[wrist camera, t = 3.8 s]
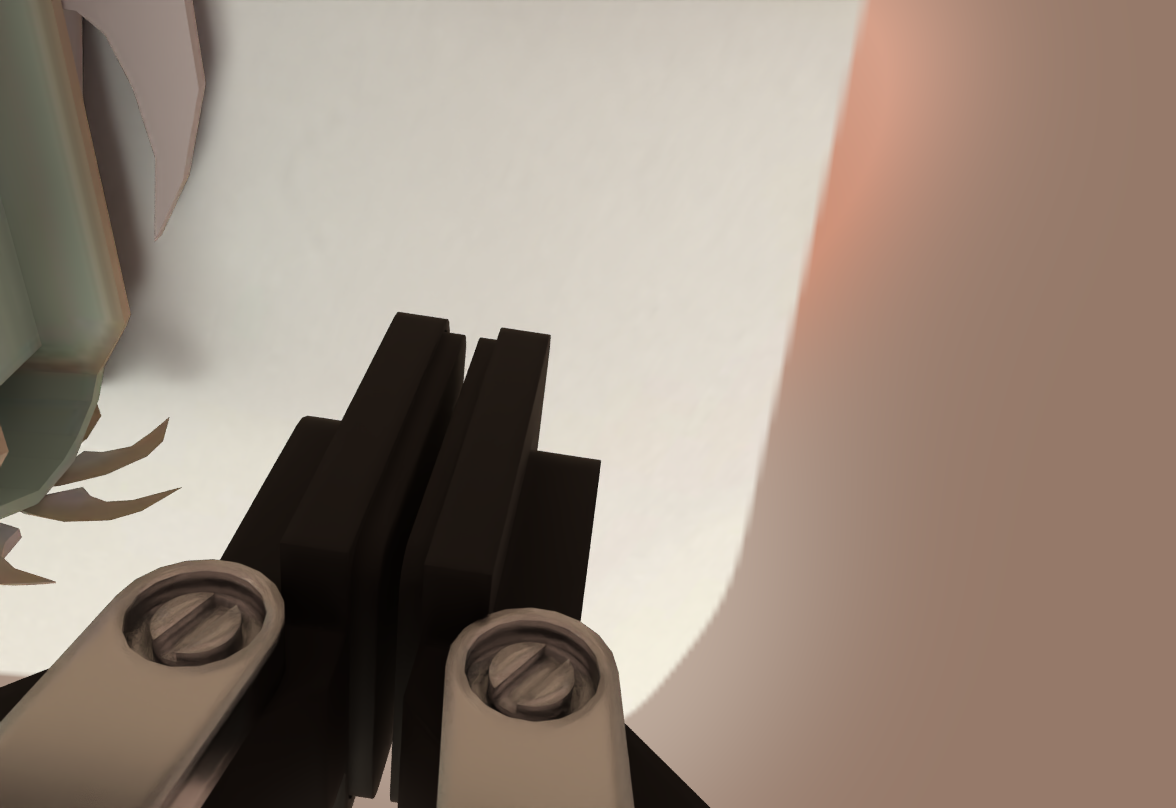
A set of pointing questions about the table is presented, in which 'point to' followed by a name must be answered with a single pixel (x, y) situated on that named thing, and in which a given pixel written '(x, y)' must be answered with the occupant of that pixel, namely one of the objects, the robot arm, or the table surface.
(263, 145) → the table surface
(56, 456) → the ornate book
